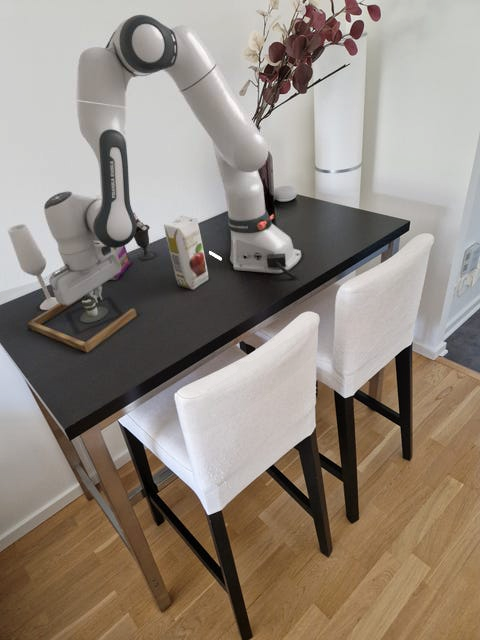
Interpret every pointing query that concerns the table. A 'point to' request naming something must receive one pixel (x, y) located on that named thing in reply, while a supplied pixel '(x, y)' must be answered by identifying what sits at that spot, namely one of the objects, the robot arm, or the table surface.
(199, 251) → the juice carton
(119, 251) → the candy bar box
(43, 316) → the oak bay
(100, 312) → the grey round stand
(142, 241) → the sundae
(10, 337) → the table surface
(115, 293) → the table surface
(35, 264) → the champagne flute
